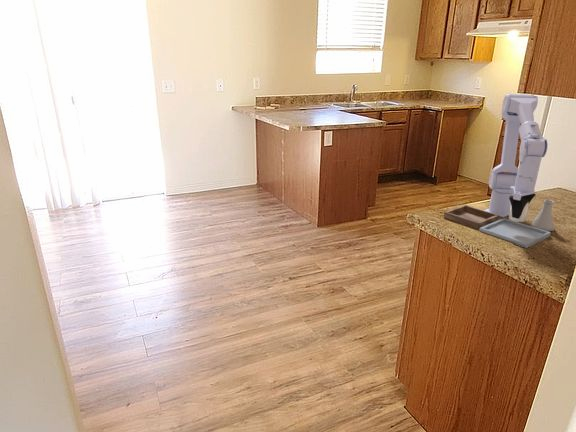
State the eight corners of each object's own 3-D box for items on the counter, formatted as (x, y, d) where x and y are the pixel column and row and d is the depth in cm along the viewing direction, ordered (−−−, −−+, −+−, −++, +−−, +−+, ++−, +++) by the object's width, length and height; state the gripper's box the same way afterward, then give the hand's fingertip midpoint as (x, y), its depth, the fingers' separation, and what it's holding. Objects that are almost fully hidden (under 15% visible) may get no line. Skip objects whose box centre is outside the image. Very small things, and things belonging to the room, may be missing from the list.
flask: (557, 232, 142) (565, 205, 139) (534, 231, 144) (541, 203, 140) (549, 225, 149) (556, 198, 145) (527, 223, 150) (533, 197, 147)
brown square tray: (464, 211, 161) (465, 204, 161) (498, 221, 151) (499, 215, 150) (443, 218, 154) (444, 212, 153) (477, 230, 144) (478, 223, 143)
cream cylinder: (511, 215, 142) (514, 198, 140) (527, 218, 139) (530, 201, 137) (506, 219, 139) (509, 202, 137) (523, 222, 135) (526, 205, 133)
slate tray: (503, 221, 151) (503, 218, 151) (549, 236, 139) (550, 232, 139) (478, 231, 142) (479, 227, 142) (526, 248, 130) (527, 244, 130)
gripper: (519, 169, 141) (511, 207, 146) (506, 178, 131) (498, 218, 136) (543, 173, 136) (534, 212, 141) (531, 182, 126) (522, 223, 131)
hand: (518, 215), depth 138 cm, fingers closed on cream cylinder, 5 cm apart
